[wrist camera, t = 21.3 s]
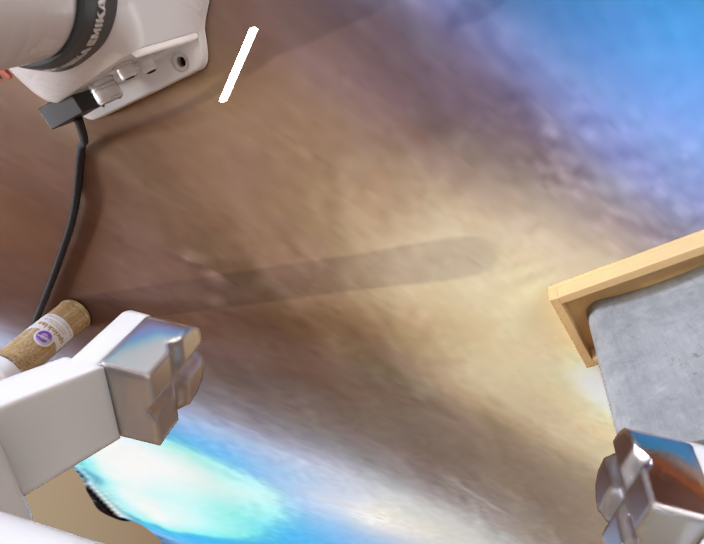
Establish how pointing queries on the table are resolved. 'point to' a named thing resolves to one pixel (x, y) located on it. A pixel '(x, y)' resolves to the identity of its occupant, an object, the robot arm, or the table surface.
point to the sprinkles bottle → (43, 338)
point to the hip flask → (654, 356)
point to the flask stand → (620, 285)
